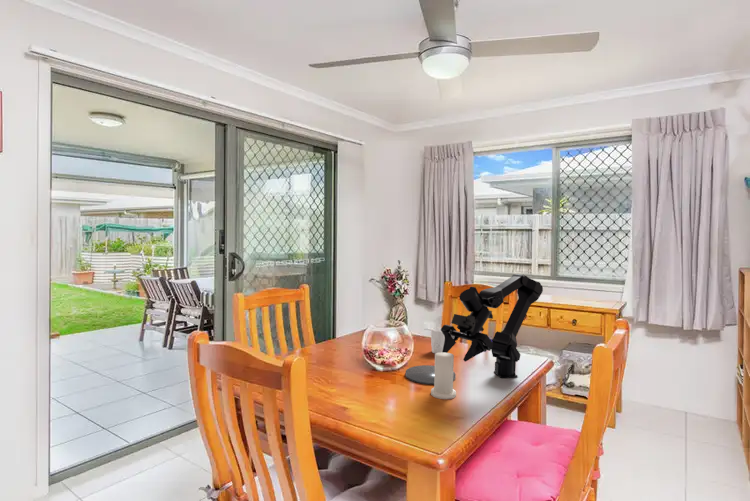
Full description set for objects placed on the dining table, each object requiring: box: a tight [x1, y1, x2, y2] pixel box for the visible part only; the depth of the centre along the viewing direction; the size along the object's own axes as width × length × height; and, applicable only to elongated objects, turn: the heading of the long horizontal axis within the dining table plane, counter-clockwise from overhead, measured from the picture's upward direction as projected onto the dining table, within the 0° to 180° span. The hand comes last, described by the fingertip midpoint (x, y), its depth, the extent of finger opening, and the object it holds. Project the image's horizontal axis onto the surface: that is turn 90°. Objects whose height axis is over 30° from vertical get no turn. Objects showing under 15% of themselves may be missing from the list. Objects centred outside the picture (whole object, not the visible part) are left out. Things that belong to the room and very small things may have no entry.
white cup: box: [430, 327, 445, 355], centre depth 194 cm, size 8×8×10 cm
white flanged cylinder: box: [430, 352, 457, 400], centre depth 144 cm, size 8×8×13 cm
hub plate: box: [405, 364, 457, 386], centre depth 162 cm, size 18×18×1 cm
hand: (453, 357), depth 146 cm, fingers open, 9 cm apart
